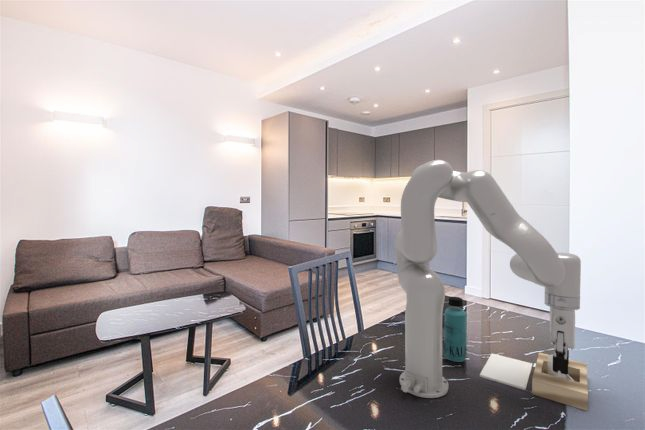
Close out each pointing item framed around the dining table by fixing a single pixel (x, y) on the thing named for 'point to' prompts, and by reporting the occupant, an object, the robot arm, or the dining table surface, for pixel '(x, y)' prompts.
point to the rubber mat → (507, 371)
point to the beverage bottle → (455, 331)
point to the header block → (561, 383)
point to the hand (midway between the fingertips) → (560, 367)
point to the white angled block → (558, 374)
